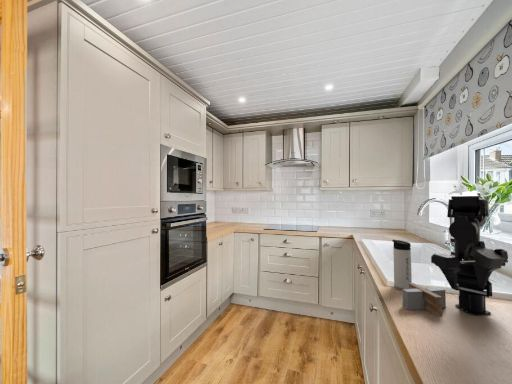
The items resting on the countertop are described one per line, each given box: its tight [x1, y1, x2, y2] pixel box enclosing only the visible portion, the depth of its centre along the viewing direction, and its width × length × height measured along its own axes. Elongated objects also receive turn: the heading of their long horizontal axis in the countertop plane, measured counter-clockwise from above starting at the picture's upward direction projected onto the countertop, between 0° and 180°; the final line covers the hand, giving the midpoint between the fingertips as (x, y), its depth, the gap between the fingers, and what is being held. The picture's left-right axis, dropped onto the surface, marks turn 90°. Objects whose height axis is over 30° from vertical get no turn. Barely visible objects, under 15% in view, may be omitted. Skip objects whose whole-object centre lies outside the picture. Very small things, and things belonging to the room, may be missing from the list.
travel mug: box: [391, 239, 413, 292], centre depth 97 cm, size 6×7×20 cm
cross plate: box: [409, 282, 443, 317], centre depth 81 cm, size 2×12×6 cm, turn 5°
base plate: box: [402, 286, 447, 311], centre depth 81 cm, size 14×2×6 cm, turn 95°
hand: (467, 288), depth 70 cm, fingers open, 9 cm apart
